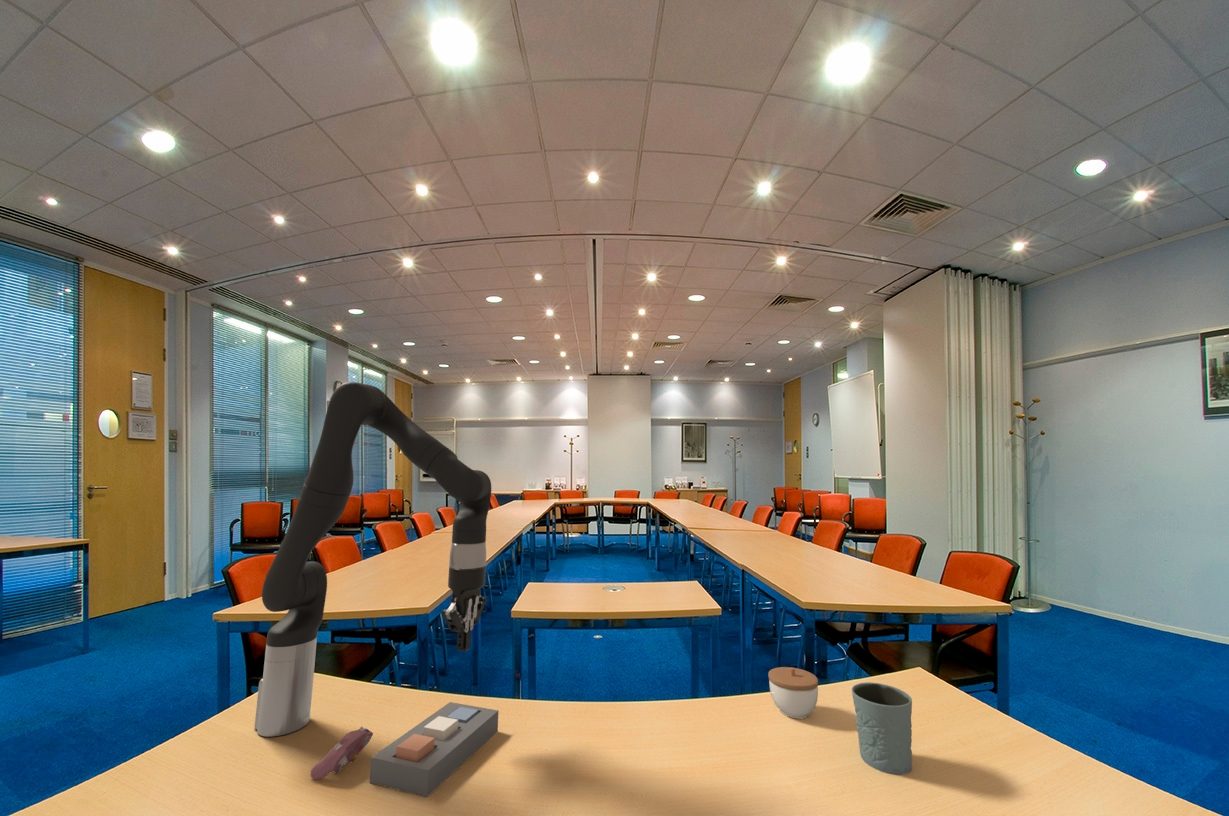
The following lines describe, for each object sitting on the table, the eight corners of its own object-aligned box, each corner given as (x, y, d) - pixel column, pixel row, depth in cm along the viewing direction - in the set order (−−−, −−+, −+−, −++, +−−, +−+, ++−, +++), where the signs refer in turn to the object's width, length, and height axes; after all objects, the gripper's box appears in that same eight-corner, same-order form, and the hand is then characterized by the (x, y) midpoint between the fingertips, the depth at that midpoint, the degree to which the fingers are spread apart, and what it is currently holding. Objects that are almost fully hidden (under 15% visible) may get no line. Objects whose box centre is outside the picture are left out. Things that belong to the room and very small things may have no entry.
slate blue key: (445, 730, 97) (446, 716, 98) (459, 719, 101) (459, 706, 102) (464, 733, 96) (465, 720, 96) (477, 722, 100) (478, 710, 100)
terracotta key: (395, 762, 84) (396, 746, 85) (413, 748, 88) (414, 733, 89) (416, 766, 83) (417, 751, 83) (434, 752, 87) (434, 737, 87)
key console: (369, 782, 83) (371, 757, 84) (449, 721, 104) (450, 702, 105) (427, 796, 80) (428, 770, 80) (497, 731, 100) (498, 710, 101)
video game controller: (324, 793, 83) (343, 756, 83) (305, 777, 84) (324, 740, 84) (364, 760, 92) (381, 727, 93) (346, 746, 93) (363, 713, 94)
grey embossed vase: (909, 752, 94) (904, 686, 95) (924, 783, 84) (918, 709, 86) (852, 742, 97) (848, 679, 99) (859, 771, 87) (855, 700, 89)
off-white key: (422, 741, 91) (423, 727, 91) (438, 729, 95) (438, 716, 95) (442, 745, 89) (443, 731, 90) (457, 733, 94) (458, 719, 94)
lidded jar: (762, 702, 114) (760, 660, 115) (804, 700, 115) (803, 658, 117) (782, 725, 104) (780, 678, 105) (829, 723, 105) (827, 677, 106)
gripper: (470, 558, 110) (466, 638, 108) (432, 568, 97) (427, 659, 95) (499, 560, 108) (495, 641, 105) (464, 570, 95) (459, 663, 93)
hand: (463, 649), depth 100 cm, fingers closed
